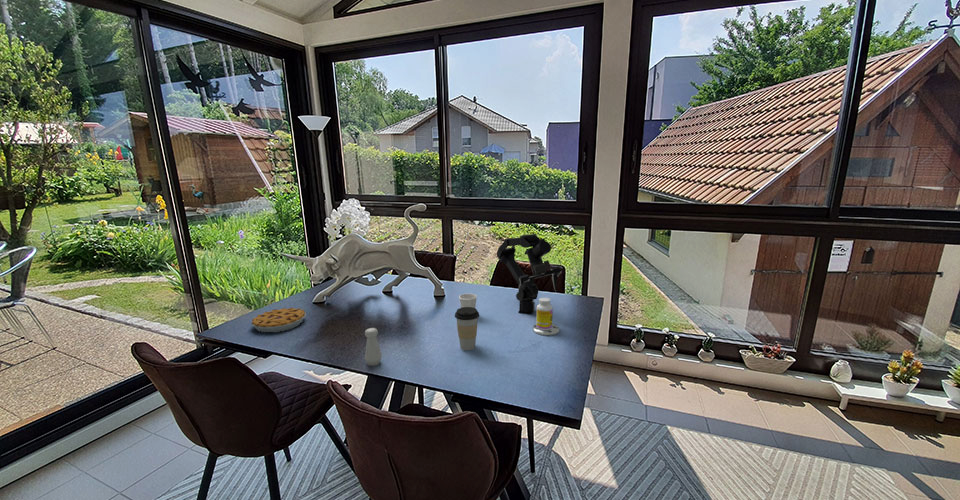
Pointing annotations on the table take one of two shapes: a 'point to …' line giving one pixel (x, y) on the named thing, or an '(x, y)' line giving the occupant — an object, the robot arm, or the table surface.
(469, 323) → the coffee cup
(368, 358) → the salt shaker
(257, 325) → the pie
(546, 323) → the supplement bottle
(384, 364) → the table surface
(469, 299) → the dixie cup
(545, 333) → the rosette plate
